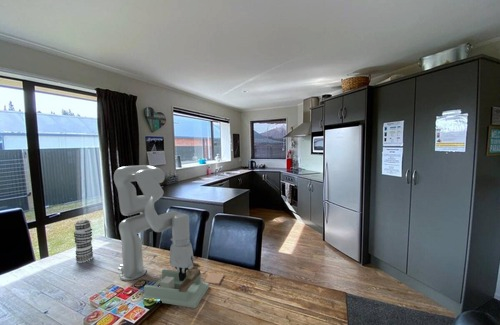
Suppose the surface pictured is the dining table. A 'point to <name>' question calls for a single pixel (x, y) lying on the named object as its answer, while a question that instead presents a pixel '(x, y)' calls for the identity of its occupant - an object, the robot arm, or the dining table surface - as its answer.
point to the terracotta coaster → (214, 278)
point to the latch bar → (189, 279)
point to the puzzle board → (177, 291)
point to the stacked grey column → (83, 241)
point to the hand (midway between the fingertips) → (182, 279)
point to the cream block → (168, 282)
